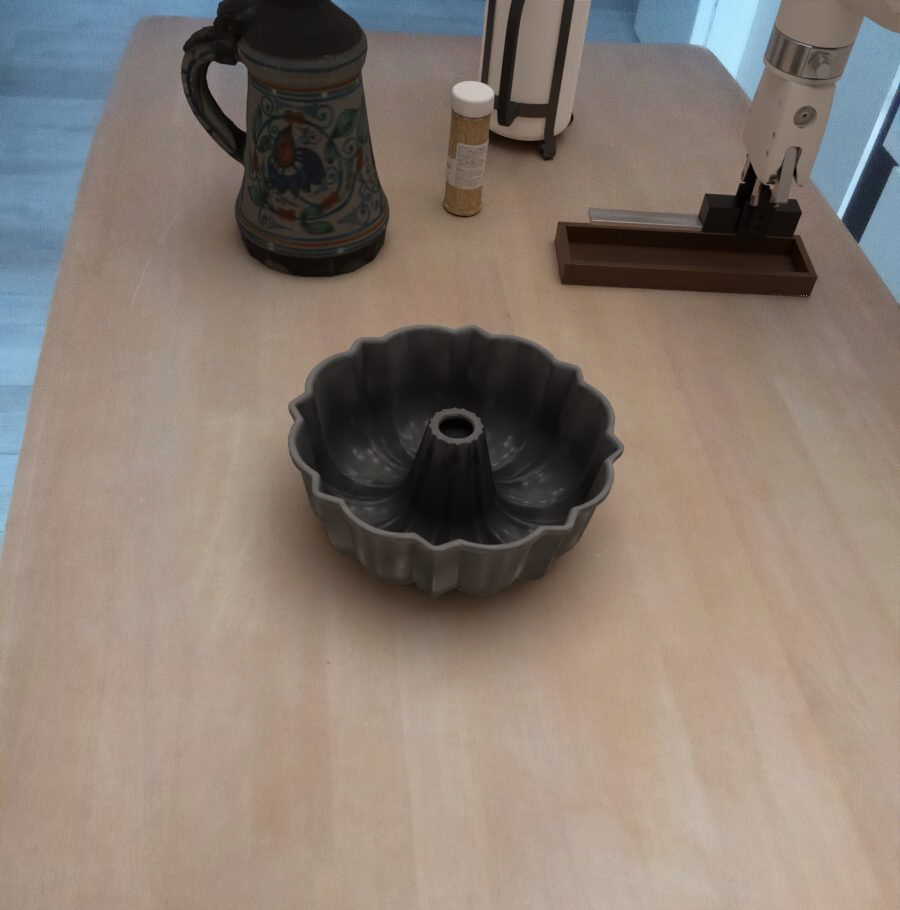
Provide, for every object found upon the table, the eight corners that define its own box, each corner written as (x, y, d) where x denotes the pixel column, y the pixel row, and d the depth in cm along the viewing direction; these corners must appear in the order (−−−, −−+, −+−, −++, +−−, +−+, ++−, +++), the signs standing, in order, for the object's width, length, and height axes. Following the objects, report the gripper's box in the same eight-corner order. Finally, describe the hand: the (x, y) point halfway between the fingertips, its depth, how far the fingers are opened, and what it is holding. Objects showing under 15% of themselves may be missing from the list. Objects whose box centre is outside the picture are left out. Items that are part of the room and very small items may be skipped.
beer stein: (412, 262, 110) (426, 15, 90) (238, 298, 104) (212, 41, 84) (354, 184, 119) (355, -57, 99) (191, 213, 112) (157, -38, 93)
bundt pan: (269, 426, 92) (261, 336, 85) (542, 393, 98) (559, 305, 90) (324, 661, 77) (321, 577, 69) (644, 604, 83) (675, 521, 75)
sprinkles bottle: (444, 194, 119) (453, 76, 108) (483, 198, 119) (496, 81, 108) (441, 215, 116) (450, 97, 106) (480, 220, 116) (493, 102, 106)
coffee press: (436, 111, 131) (455, -171, 107) (547, 97, 136) (588, -177, 112) (491, 181, 121) (525, -112, 98) (608, 163, 126) (667, -121, 103)
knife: (787, 224, 111) (796, 199, 108) (792, 238, 109) (802, 212, 107) (587, 212, 109) (593, 186, 107) (590, 225, 107) (595, 199, 105)
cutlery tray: (792, 254, 117) (800, 234, 115) (809, 296, 112) (818, 277, 110) (554, 241, 115) (557, 221, 113) (561, 284, 110) (565, 263, 108)
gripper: (870, 95, 90) (797, 275, 105) (824, 16, 100) (764, 189, 115) (788, 89, 90) (726, 270, 104) (750, 10, 100) (699, 185, 114)
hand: (746, 226), depth 109 cm, fingers closed on knife, 2 cm apart
